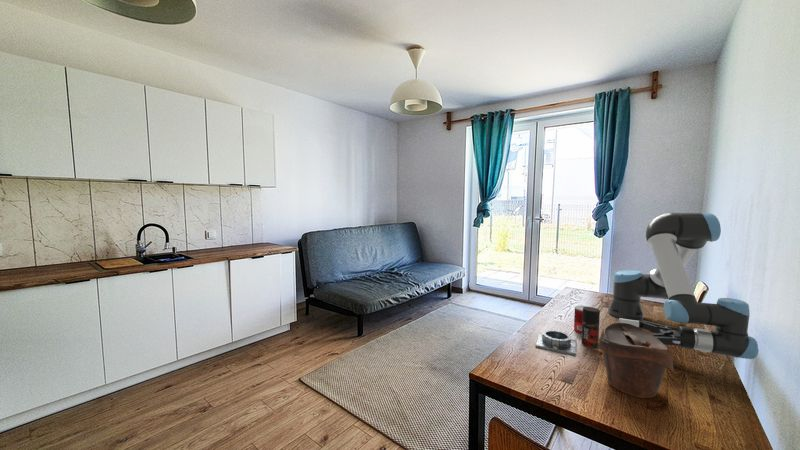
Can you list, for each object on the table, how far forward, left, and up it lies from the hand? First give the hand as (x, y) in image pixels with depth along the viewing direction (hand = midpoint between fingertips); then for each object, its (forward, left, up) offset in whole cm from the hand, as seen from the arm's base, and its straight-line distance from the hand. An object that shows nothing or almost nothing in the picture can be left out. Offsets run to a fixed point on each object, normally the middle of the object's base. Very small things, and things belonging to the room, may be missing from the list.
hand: (620, 327), depth 122 cm
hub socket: (+7, -22, -10) cm, 25 cm away
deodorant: (0, -10, -10) cm, 14 cm away
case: (+28, +1, -10) cm, 29 cm away
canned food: (-14, -12, -10) cm, 21 cm away
